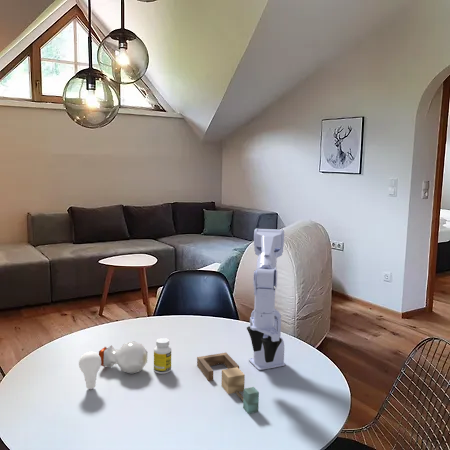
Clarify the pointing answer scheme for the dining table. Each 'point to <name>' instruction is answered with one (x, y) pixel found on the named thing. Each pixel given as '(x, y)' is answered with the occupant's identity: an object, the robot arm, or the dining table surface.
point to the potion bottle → (125, 357)
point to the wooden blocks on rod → (240, 389)
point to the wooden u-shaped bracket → (214, 363)
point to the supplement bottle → (162, 356)
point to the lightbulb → (90, 367)
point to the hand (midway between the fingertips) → (263, 356)
